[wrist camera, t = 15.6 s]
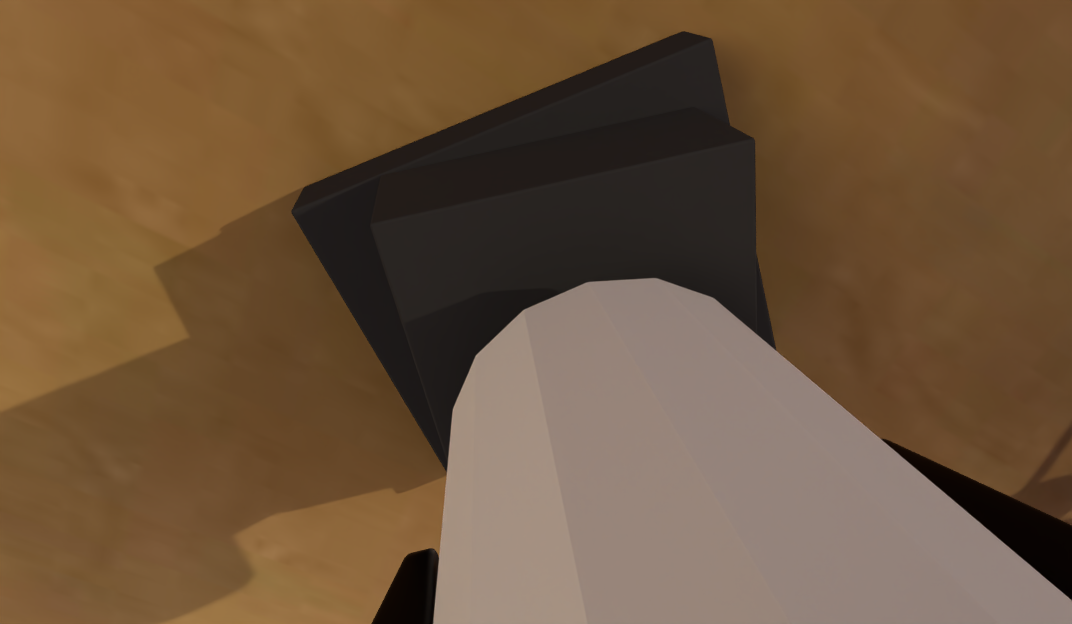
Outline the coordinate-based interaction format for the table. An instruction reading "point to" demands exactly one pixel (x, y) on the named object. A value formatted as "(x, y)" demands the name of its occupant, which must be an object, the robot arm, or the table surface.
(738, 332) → the shot glass
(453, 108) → the table surface
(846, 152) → the table surface
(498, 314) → the black pad
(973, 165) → the table surface
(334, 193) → the base pad
